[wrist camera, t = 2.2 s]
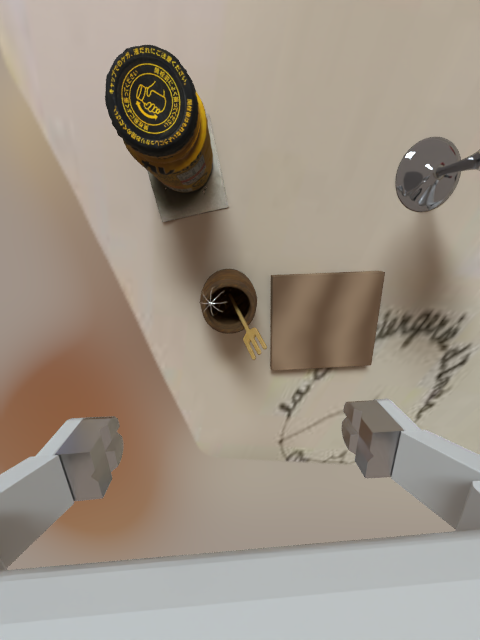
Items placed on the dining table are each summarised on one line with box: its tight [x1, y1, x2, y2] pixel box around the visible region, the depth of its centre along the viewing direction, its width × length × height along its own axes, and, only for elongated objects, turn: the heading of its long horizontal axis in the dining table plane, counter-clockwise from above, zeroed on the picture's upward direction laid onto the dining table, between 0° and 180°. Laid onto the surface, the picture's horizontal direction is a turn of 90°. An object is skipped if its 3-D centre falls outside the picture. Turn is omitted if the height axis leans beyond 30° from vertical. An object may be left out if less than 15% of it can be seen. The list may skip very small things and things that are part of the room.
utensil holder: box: [199, 269, 267, 360], centre depth 24 cm, size 6×6×12 cm
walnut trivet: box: [270, 271, 385, 371], centre depth 31 cm, size 13×12×1 cm
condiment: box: [105, 45, 228, 222], centre depth 20 cm, size 7×8×12 cm
